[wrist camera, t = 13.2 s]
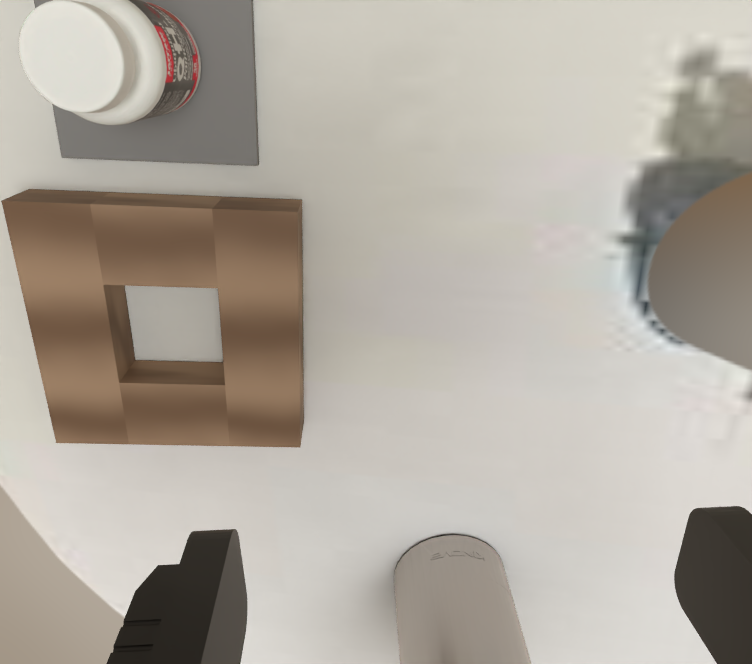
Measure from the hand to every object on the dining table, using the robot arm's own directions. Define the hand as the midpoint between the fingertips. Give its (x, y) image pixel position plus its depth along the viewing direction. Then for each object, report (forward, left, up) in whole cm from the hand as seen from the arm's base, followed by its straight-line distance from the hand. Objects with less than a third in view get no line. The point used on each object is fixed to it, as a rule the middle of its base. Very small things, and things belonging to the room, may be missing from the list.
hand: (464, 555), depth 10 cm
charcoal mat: (+7, +13, -28) cm, 32 cm away
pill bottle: (+7, +13, -28) cm, 31 cm away
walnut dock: (-8, +13, -28) cm, 32 cm away
